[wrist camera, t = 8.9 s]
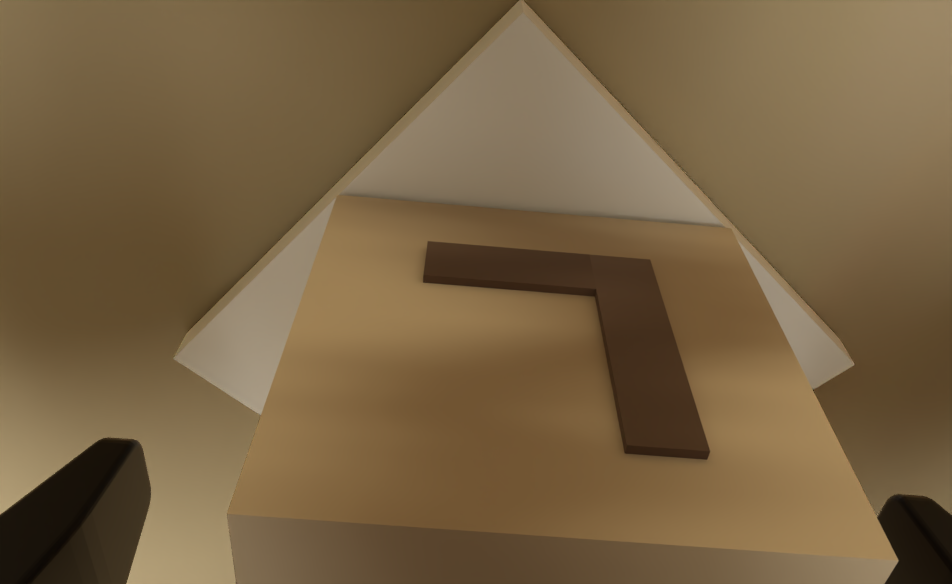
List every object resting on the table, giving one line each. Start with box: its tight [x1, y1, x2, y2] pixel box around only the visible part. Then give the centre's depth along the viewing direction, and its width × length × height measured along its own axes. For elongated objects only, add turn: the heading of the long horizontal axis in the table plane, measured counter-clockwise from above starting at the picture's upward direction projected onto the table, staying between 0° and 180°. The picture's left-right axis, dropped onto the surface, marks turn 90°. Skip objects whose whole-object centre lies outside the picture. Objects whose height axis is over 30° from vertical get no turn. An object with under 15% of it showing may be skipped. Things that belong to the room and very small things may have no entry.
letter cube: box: [227, 195, 899, 584], centre depth 9 cm, size 5×5×5 cm
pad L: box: [173, 0, 855, 415], centre depth 12 cm, size 7×7×1 cm
